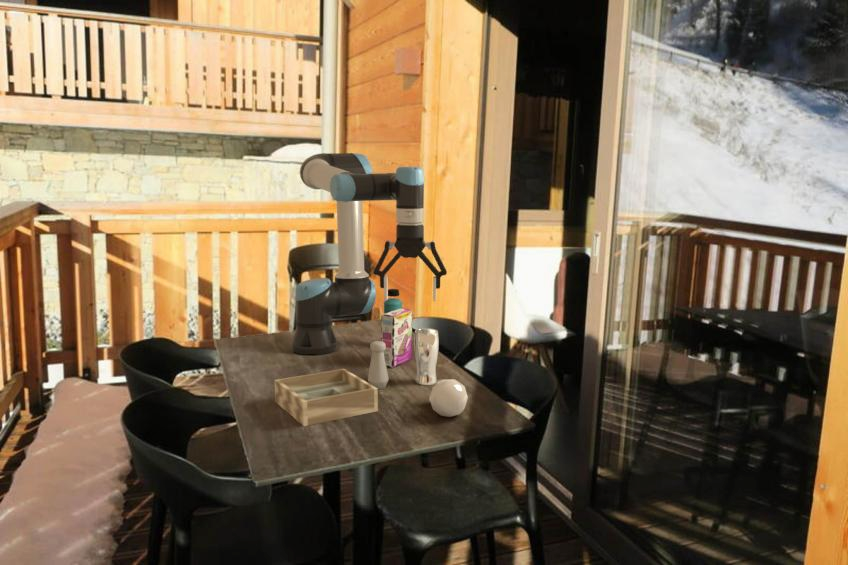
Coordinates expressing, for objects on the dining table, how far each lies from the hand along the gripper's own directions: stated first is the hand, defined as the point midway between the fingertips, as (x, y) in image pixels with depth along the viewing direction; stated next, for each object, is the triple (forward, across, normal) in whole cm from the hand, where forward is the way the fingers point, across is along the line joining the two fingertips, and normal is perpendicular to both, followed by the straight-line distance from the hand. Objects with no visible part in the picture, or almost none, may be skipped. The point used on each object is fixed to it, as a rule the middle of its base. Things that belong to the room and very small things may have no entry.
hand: (410, 300), depth 198 cm
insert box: (+24, -21, -20) cm, 38 cm away
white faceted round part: (+25, +11, -21) cm, 34 cm away
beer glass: (+25, +4, +2) cm, 25 cm away
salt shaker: (+25, -9, -3) cm, 26 cm away
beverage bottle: (+24, -8, +39) cm, 47 cm away
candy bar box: (+24, -6, +21) cm, 33 cm away
